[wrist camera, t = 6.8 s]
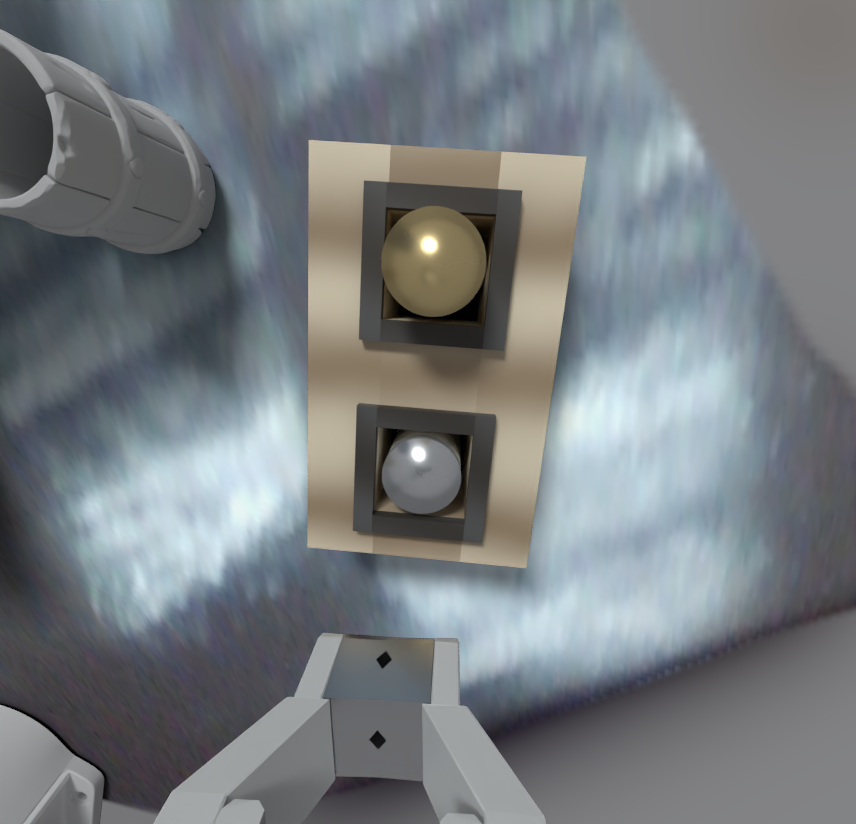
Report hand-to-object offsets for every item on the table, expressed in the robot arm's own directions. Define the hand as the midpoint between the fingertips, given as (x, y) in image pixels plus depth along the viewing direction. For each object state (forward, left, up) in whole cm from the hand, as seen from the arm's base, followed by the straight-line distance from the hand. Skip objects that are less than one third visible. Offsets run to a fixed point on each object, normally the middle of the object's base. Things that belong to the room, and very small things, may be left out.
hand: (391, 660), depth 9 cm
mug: (+13, +19, -20) cm, 30 cm away
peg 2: (-1, 0, -19) cm, 19 cm away
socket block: (+4, 0, -19) cm, 20 cm away
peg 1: (+9, 0, -16) cm, 18 cm away
